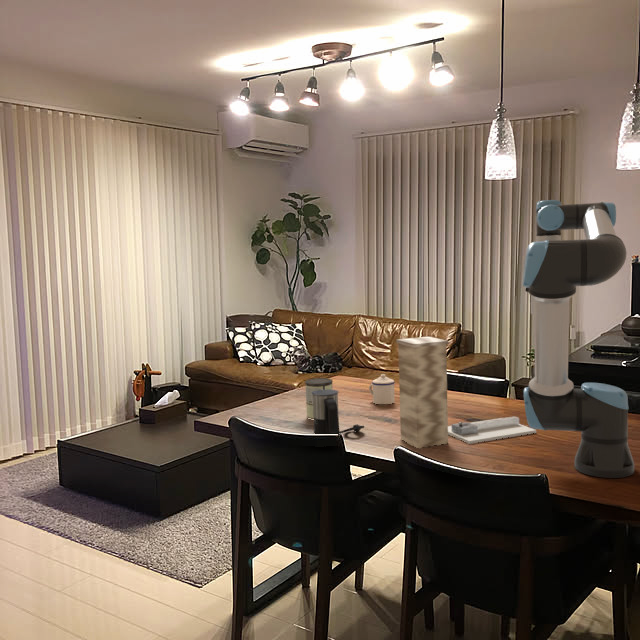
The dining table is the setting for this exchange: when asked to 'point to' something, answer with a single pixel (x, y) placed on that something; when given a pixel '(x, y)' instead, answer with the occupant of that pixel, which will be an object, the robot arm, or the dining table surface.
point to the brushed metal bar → (483, 425)
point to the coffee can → (313, 386)
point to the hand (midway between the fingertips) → (548, 315)
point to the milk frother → (327, 413)
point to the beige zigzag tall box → (423, 391)
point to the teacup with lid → (382, 390)
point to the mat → (493, 433)
